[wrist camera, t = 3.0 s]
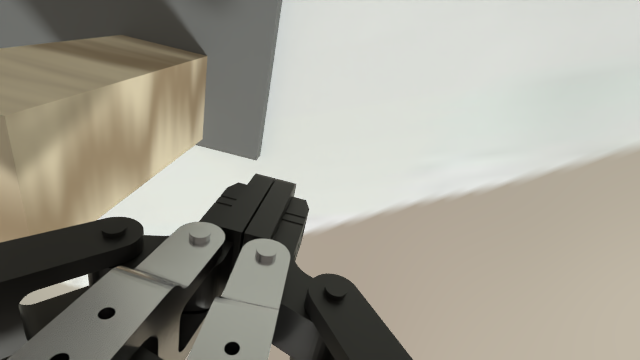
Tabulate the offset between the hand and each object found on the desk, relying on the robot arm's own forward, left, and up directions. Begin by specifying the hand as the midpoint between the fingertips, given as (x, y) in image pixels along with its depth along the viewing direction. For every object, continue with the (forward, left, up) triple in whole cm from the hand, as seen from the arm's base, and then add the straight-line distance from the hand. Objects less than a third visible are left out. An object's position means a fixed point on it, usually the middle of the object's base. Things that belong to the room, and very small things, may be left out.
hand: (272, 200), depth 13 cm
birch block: (0, -9, -8) cm, 12 cm away
